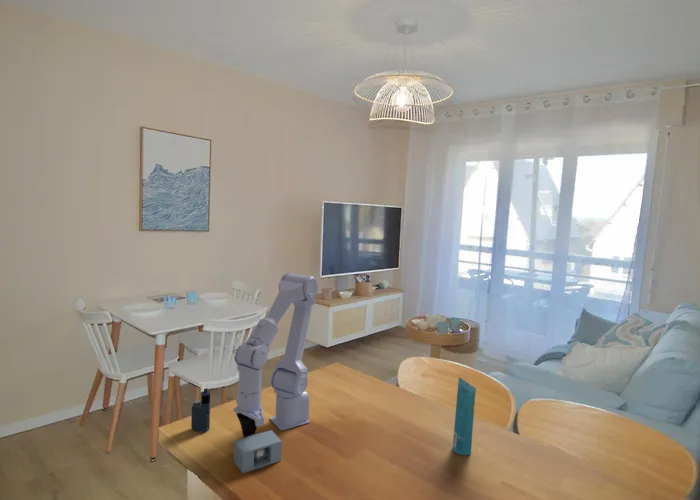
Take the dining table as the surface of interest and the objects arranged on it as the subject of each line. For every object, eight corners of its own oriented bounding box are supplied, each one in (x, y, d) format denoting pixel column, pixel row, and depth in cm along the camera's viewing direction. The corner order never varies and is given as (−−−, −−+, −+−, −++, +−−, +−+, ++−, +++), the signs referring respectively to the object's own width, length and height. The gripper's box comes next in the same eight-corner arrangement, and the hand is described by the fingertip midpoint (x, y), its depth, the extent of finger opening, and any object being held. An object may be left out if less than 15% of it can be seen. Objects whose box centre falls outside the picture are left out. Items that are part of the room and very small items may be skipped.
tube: (477, 456, 110) (483, 386, 108) (463, 460, 108) (469, 389, 106) (459, 441, 116) (464, 376, 115) (445, 445, 114) (450, 378, 112)
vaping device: (206, 433, 114) (207, 391, 113) (189, 430, 115) (190, 389, 114) (211, 428, 117) (212, 387, 115) (194, 426, 118) (195, 385, 116)
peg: (267, 459, 102) (268, 445, 102) (253, 464, 100) (254, 450, 100) (256, 446, 108) (257, 432, 108) (243, 449, 106) (243, 436, 105)
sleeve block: (281, 460, 103) (281, 441, 103) (242, 473, 98) (243, 452, 97) (270, 447, 109) (270, 429, 108) (233, 459, 103) (233, 439, 102)
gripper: (225, 382, 110) (224, 431, 111) (245, 404, 98) (243, 458, 99) (250, 377, 114) (249, 424, 115) (272, 398, 102) (271, 450, 103)
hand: (248, 439), depth 108 cm, fingers closed
